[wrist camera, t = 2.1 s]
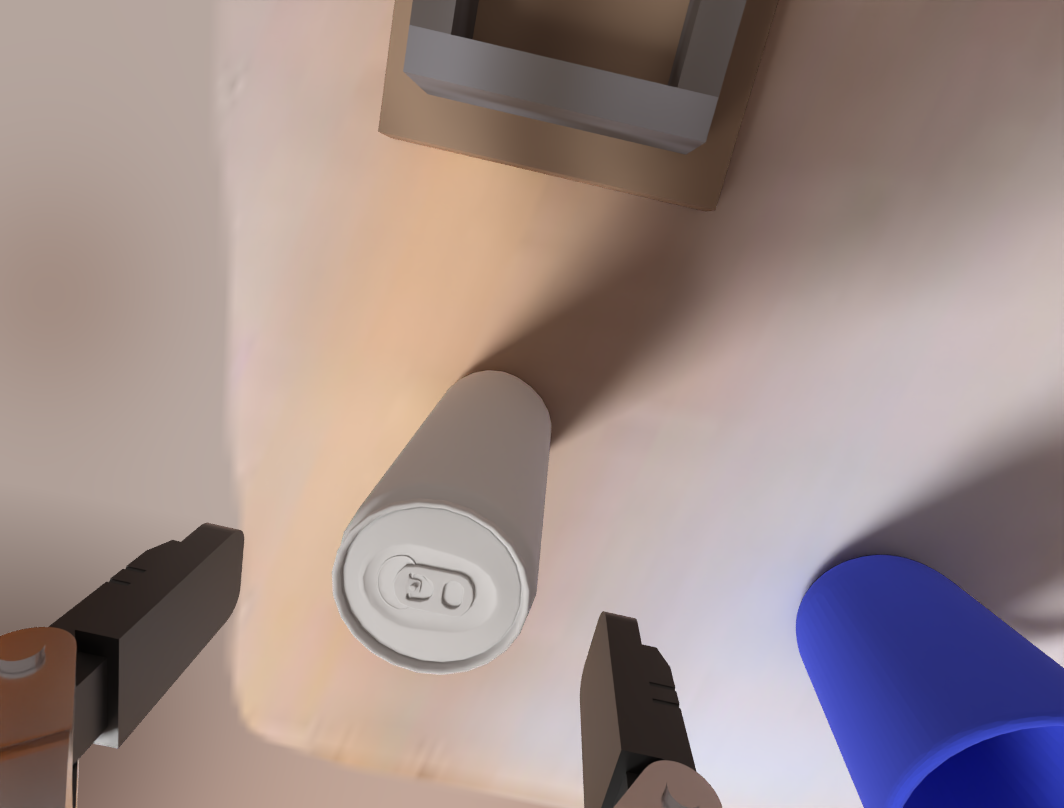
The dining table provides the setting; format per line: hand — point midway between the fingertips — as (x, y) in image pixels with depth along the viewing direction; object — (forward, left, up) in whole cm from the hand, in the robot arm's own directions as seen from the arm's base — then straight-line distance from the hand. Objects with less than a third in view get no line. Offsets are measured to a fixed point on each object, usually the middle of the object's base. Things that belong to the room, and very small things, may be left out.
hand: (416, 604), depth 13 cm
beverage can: (0, 0, -13) cm, 13 cm away
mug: (-20, +5, -13) cm, 24 cm away
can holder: (0, -16, -12) cm, 20 cm away
